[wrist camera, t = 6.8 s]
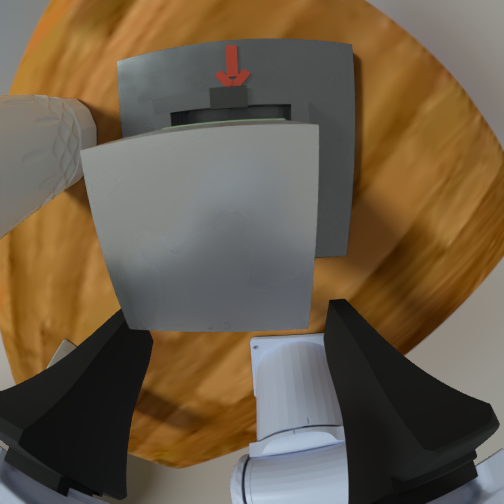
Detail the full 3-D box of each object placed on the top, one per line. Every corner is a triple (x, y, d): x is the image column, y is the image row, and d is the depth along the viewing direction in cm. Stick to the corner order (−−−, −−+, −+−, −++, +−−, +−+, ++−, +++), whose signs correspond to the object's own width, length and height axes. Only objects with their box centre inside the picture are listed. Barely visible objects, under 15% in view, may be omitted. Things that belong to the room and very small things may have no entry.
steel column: (281, 212, 12) (310, 330, 6) (188, 217, 12) (128, 330, 6) (279, 118, 10) (321, 121, 4) (178, 125, 10) (77, 148, 4)
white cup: (47, 79, 13) (-57, 89, 4) (122, 108, 15) (10, 120, 6) (22, 171, 16) (-66, 218, 7) (87, 208, 18) (-1, 282, 9)
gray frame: (342, 249, 19) (364, 287, 15) (150, 256, 20) (126, 295, 15) (346, 47, 13) (377, 29, 8) (124, 63, 13) (85, 52, 9)
